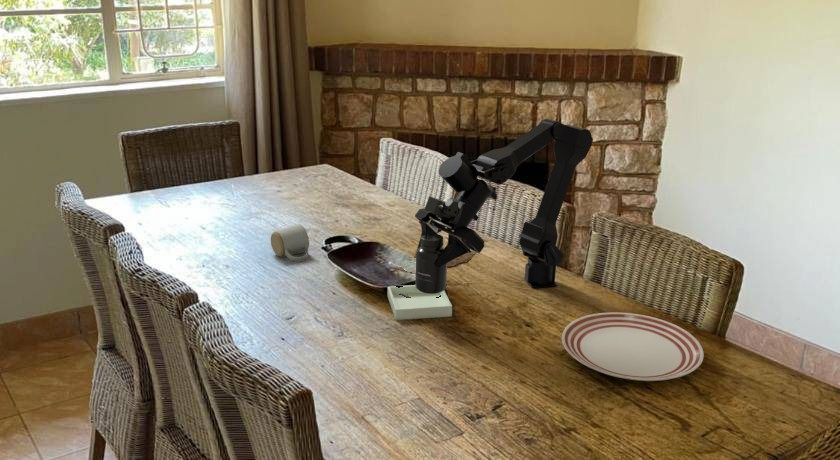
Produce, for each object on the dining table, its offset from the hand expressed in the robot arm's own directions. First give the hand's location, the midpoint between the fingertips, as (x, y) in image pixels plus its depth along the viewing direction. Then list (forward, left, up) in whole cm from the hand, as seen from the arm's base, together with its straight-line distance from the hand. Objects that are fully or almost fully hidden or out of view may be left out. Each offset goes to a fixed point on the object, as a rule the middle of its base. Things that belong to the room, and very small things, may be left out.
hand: (426, 261), depth 166 cm
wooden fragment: (-10, -33, -14) cm, 37 cm away
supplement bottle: (-1, -1, -7) cm, 7 cm away
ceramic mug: (+28, -42, -14) cm, 52 cm away
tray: (0, -6, -13) cm, 14 cm away
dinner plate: (-38, +23, -14) cm, 46 cm away
